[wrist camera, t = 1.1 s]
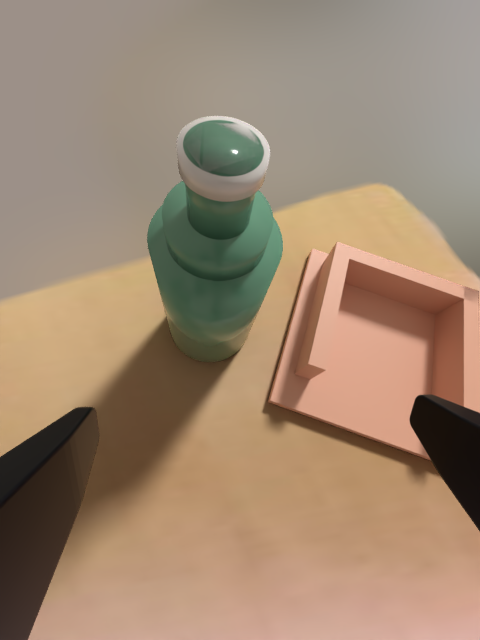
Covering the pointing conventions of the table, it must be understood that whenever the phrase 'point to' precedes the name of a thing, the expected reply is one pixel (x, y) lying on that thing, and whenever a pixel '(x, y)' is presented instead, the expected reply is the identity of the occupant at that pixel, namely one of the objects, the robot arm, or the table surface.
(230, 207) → the bottle
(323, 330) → the u rest
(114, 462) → the table surface
